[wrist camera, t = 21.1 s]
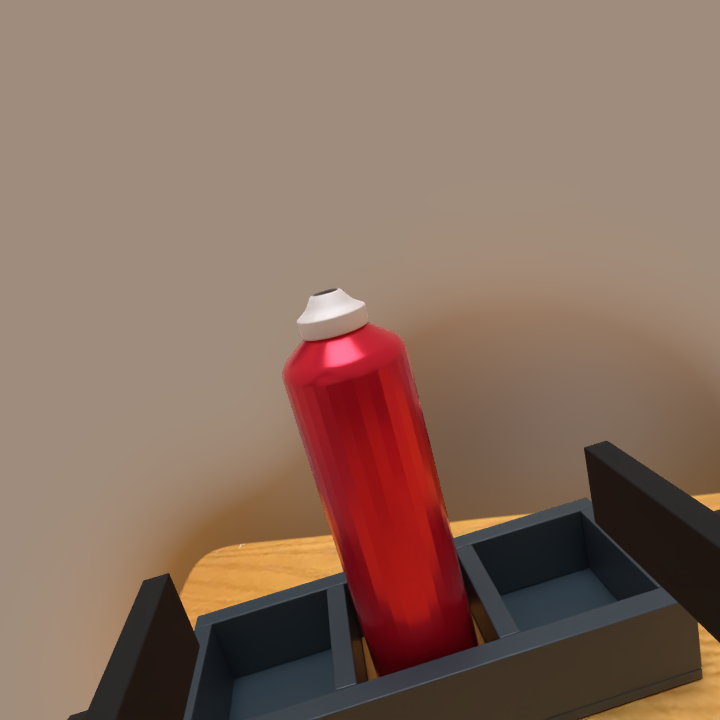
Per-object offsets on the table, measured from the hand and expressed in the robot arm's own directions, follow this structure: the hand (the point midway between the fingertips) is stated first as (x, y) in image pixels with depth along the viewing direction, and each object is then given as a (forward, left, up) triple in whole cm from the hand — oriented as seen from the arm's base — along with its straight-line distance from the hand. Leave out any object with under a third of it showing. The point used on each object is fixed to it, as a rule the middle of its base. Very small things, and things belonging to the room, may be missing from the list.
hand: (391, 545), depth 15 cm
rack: (0, +8, -14) cm, 16 cm away
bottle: (0, +8, -13) cm, 15 cm away
